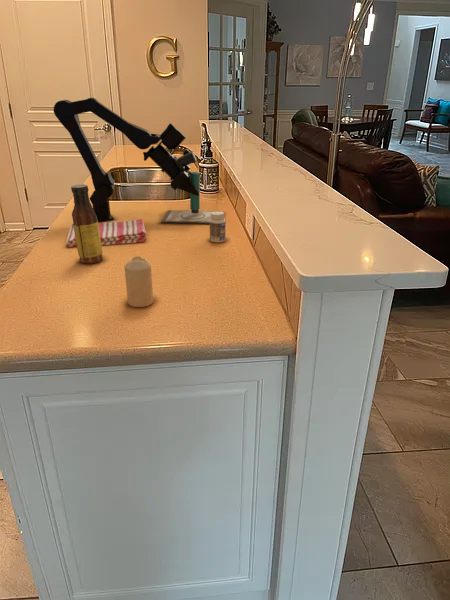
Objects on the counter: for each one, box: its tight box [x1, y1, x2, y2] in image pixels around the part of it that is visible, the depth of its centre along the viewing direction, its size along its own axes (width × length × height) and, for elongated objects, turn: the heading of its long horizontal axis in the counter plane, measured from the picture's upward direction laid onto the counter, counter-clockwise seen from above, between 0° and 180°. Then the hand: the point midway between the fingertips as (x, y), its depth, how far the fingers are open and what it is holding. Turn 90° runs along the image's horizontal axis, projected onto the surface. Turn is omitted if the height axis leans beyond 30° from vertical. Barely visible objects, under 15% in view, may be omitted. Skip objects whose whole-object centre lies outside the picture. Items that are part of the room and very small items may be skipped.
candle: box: [124, 256, 154, 308], centre depth 101 cm, size 6×6×10 cm
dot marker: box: [189, 171, 201, 213], centre depth 162 cm, size 3×3×14 cm
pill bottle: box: [209, 210, 227, 243], centre depth 140 cm, size 5×5×8 cm
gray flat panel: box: [160, 209, 224, 225], centre depth 164 cm, size 20×15×1 cm
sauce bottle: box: [70, 184, 103, 264], centre depth 122 cm, size 6×6×20 cm
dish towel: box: [65, 218, 148, 248], centre depth 145 cm, size 17×23×4 cm
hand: (198, 193), depth 163 cm, fingers closed on dot marker, 3 cm apart
